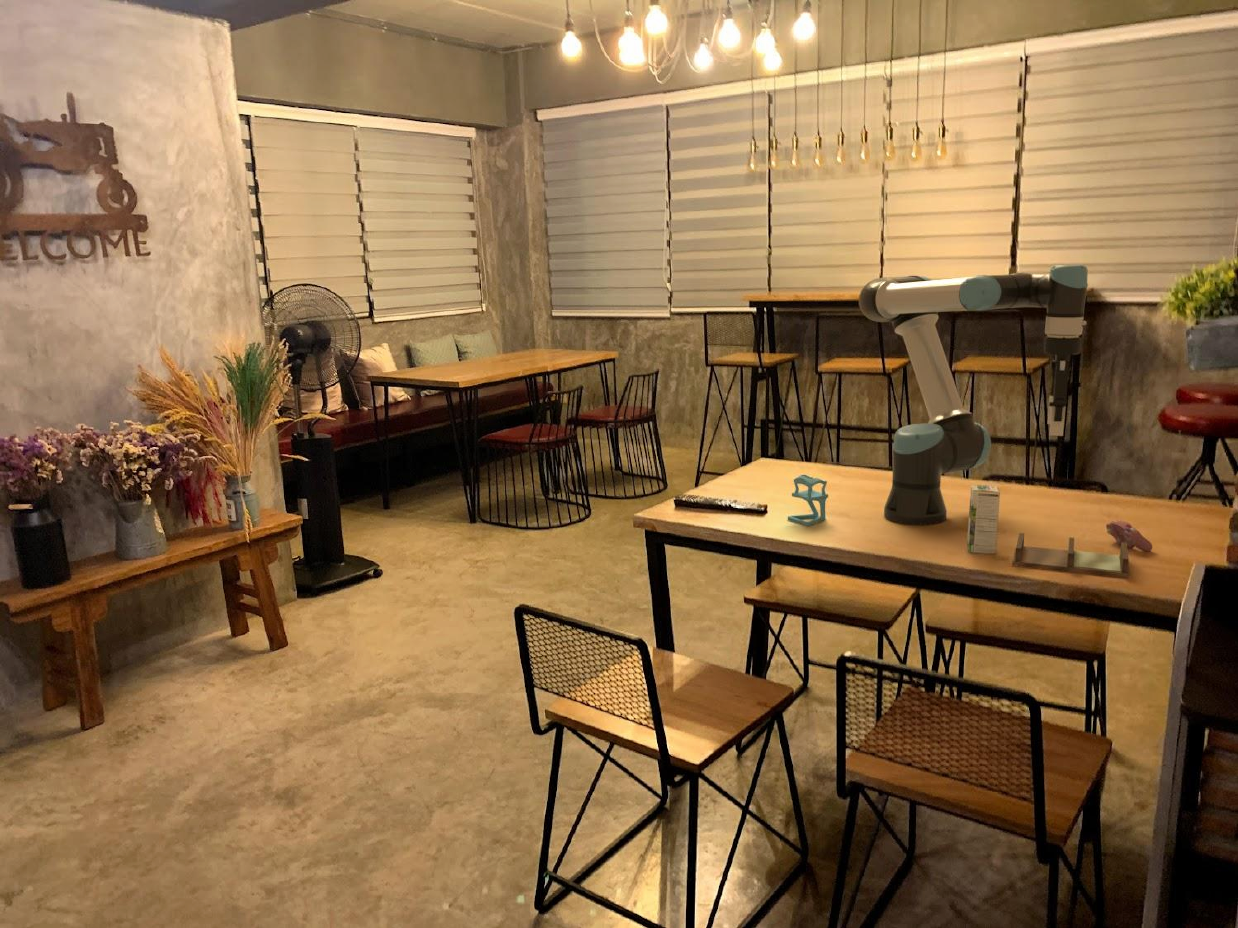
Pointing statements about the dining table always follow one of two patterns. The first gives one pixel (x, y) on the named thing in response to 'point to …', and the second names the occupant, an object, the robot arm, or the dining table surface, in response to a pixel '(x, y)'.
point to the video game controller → (1128, 535)
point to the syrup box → (983, 519)
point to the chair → (810, 499)
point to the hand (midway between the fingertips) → (1054, 429)
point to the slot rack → (1072, 560)
